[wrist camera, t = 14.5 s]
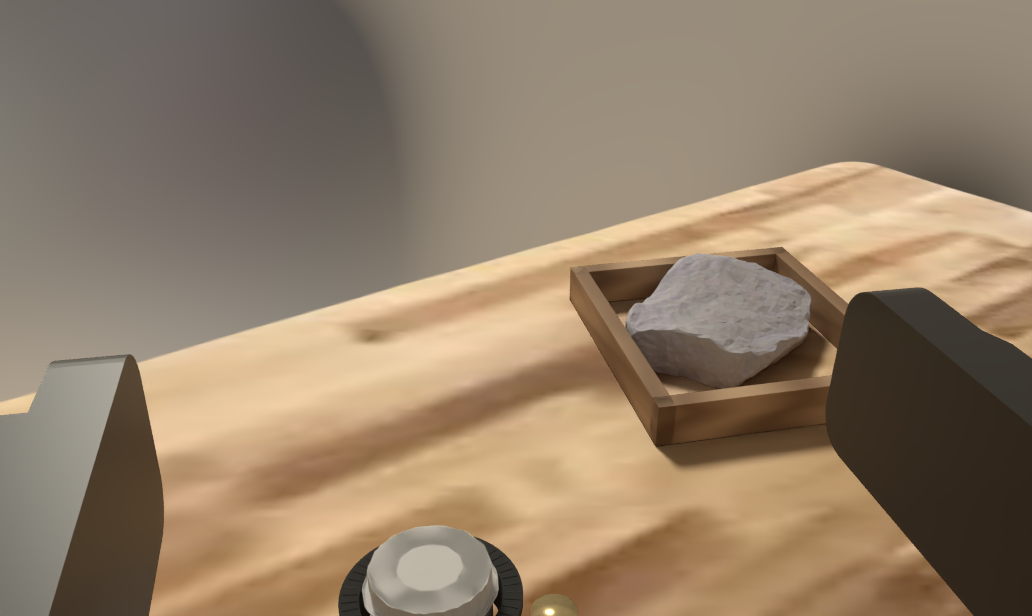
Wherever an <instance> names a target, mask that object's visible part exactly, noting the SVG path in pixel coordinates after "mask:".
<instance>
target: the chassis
mask: <svg viewBox="0 0 1032 616" xmlns="http://www.w3.org/2000/svg"><path fill="white" fill-rule="evenodd" d="M531 616H578V610H577V607H576V605H575V603H574V602H573V601H572V600H571V599H569V598H567V597H565V596H563V595H558V594H549V595H545V596H542V597H540V598H538V599H537V600H536V601H535V602H534V603H533V605H532V607H531Z"/></svg>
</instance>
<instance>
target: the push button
mask: <svg viewBox="0 0 1032 616" xmlns="http://www.w3.org/2000/svg"><path fill="white" fill-rule="evenodd" d="M493 603H494V604H495V605H496V607H497V609H498V610H499V611H498V613H497V614H496V616H521V614H522V608H523V587H522V582H521V578H520V575H519V573H518V571H517V569H516V567H515V566H514V564H513V563H512V562H511V560H510V559H509V558H508V557H507V556H506V555H505V554H504V553H503V552H502V551H500V550H499V549H498V548H496V547H495V546H493V545H492V544H490V543H488V542H486V541H484V540H482V539H479V538H477V537H474V536H472V535H470V534H469V533H468V532H465V531H464V530H459V529H454V528H450V527H447V526H436V525H433V526H426V527H415V528H413V529H410V530H405V531H403V532H401V533H399V534H397V535H394V536H392V537H391V538H390V539H389V540H387V541H386V542H385V543H383V544H382V545H380V546H379V547H377V548H375V549H374V550H372V551H371V552H369V553H368V554H367V555H365V556H364V557H363V558H362V559H361V560H360V561H359V562H358V563H356V565H355V566H354V567H353V568H352V569H351V571H350V572H349V574H348V575H347V577H346V579H345V580H344V582H343V585H342V588H341V590H340V595H339V603H338V607H339V616H370V615H371V616H493Z"/></svg>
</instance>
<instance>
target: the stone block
mask: <svg viewBox="0 0 1032 616" xmlns="http://www.w3.org/2000/svg"><path fill="white" fill-rule="evenodd" d="M811 307H812V302H811V297H810V294H809V293H808V292H807V291H806V290H805V289H803V287H802V286H800V285H799V284H797V283H796V282H795V281H793V280H792V279H790V278H787V277H784V276H781V275H779V274H777V273H775V272H773V271H770V270H767V269H765V268H763V267H762V266H760V265H758V264H756V263H749V262H746V261H741V260H738V259H736V258H734V257H729V256H720V255H710V254H695V255H691V256H686V257H684V258H681V259H679V260H678V261H677V262H676V263H675V264H674V265H673V267H672V268H671V269H670V270H669V271H668V272H667V274H666V275H665V276H664V278H663V279H662V280H661V282H660V284H659V285H658V287H657V288H656V290H655V291H654V293H653V294H652V295H651V296H650V297H648V298H647V299H646V300H645V301H644V302H643V303H636V304H634V305H633V307H632V308H631V309H630V310H629V313H628V316H627V319H626V330H627V331H628V333H629V334H630V336H631V337H632V339H633V340H634V342H635V343H636V345H637V346H638V348H639V349H640V351H641V352H642V354H643V355H644V357H645V359H646V360H647V362H648V363H649V365H650V366H651V368H652V369H653V371H654V372H656V373H664V374H669V375H675V376H683V377H687V378H690V379H692V380H695V381H697V382H700V383H702V384H704V385H707V386H711V387H715V388H718V389H726V388H734V387H738V386H740V385H741V384H742V383H743V382H744V381H745V380H747V379H749V378H751V377H753V376H754V375H756V374H758V373H759V372H760V371H762V370H763V369H764V368H766V367H768V366H769V365H772V364H775V363H777V362H778V361H779V360H780V359H781V358H782V357H784V356H786V355H788V353H790V351H792V350H793V349H795V348H796V347H798V346H800V345H801V343H802V342H803V341H804V340H805V338H806V336H807V334H808V329H809V320H810V313H811Z"/></svg>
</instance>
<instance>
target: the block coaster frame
mask: <svg viewBox="0 0 1032 616" xmlns="http://www.w3.org/2000/svg"><path fill="white" fill-rule="evenodd" d="M710 255H720V256H729V257H734V258H736V259H738V260H741V261H746V262H749V263H756V264H758V265H760V266H762V267H763V268H765V269H767V270H770V271H773V272H775V273H777V274H779V275H781V276H784V277H787V278H790V279H792V280H793V281H795V282H796V283H797V284H799V285H800V286H802V287H803V289H805V290H806V291H807V292H808V293H809V294H810V297H811V302H812V307H811V313H810V320H809V322H810V323H811V324H813V325H814V326H815V327H816V328H817V329H818V330H819V331H820V332H821V333H822V334H823V335H824V336H825V337H826V338H827V339H828V340H829V341H830V342H831V343H832V344H833V345H834V346H835V347H836V348H837V349H838V345H839V340H840V335H841V331H842V326H843V321H844V316H845V313H846V309H847V307H848V303H846V302H845V301H844V300H843V299H842V298H841V297H839V296H838V295H837V294H836V293H835V292H834V291H832V290H831V289H830V288H829V287H828V286H827V285H826V284H824V283H823V282H822V281H821V280H820V279H819V278H817V277H816V276H815V275H814V274H813V273H812V272H810V271H809V270H808V269H807V268H806V267H805V266H804V265H802V264H801V263H800V262H799V261H798V260H797V259H795V258H794V257H793V256H792V255H791V254H790V253H788V252H787V251H786V250H785V249H784V248H783V247H777V248H767V249H756V250H746V251H735V252H725V253H714V254H710ZM684 257H686V256H683V257H672V258H662V259H651V260H641V261H630V262H620V263H609V264H599V265H588V266H578V267H571V270H570V300H571V302H572V304H573V305H574V307H575V309H576V311H577V312H578V314H579V316H580V317H581V319H582V321H583V323H584V324H585V326H586V328H587V329H588V331H589V333H590V335H591V336H592V338H593V340H594V341H595V343H596V345H597V347H598V348H599V350H600V352H601V353H602V355H603V357H604V359H605V360H606V362H607V364H608V365H609V367H610V369H611V371H612V372H613V374H614V376H615V377H616V379H617V381H618V383H619V384H620V386H621V388H622V389H623V391H624V393H625V395H626V396H627V398H628V400H629V401H630V403H631V405H632V407H633V408H634V410H635V412H636V413H637V415H638V417H639V419H640V420H641V422H642V424H643V425H644V427H645V429H646V431H647V432H648V434H649V436H650V437H651V439H652V441H653V443H654V444H655V446H660V445H668V444H675V443H683V442H690V441H698V440H705V439H712V438H720V437H727V436H735V435H742V434H750V433H757V432H765V431H772V430H779V429H787V428H794V427H802V426H809V425H817V424H824V423H826V416H825V411H826V401H827V396H828V392H829V387H830V382H831V378H832V375H830V376H822V377H814V378H806V379H798V380H790V381H782V382H774V383H766V384H758V385H750V386H742V387H734V388H726V389H718V390H709V391H701V392H693V393H685V394H677V395H669V393H668V392H667V390H666V389H665V387H664V386H663V384H662V383H661V381H660V380H659V378H658V377H657V375H656V374H655V372H654V371H653V369H652V368H651V366H650V365H649V363H648V362H647V360H646V359H645V357H644V355H643V354H642V352H641V351H640V349H639V348H638V346H637V345H636V343H635V342H634V340H633V339H632V337H631V336H630V334H629V333H628V331H627V330H626V328H625V327H624V325H623V324H622V322H621V321H620V319H619V318H618V316H617V315H616V313H615V312H614V310H613V309H612V307H611V305H610V304H609V302H611V301H620V300H630V299H640V298H648V297H650V296H651V295H652V294H653V293H654V291H655V290H656V288H657V287H658V285H659V284H660V282H661V280H662V279H663V278H664V276H665V275H666V274H667V272H668V271H669V270H670V269H671V268H672V267H673V265H674V264H675V263H676V262H677V261H678V260H679V259H681V258H684Z"/></svg>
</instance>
